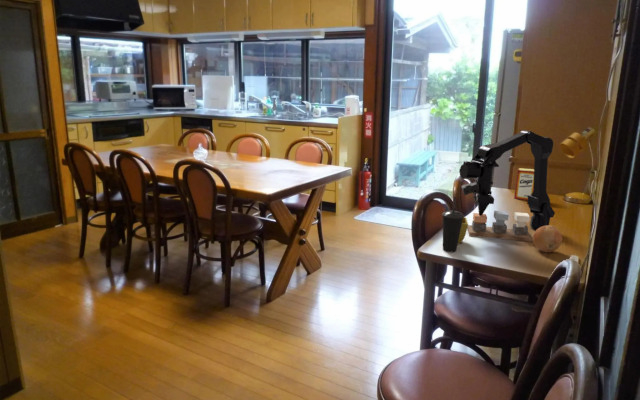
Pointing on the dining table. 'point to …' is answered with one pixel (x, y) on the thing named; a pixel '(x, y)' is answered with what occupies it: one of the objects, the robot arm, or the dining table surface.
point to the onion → (547, 238)
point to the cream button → (521, 219)
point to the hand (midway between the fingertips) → (480, 215)
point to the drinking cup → (451, 228)
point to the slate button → (500, 217)
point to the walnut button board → (499, 232)
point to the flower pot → (463, 230)
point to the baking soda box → (524, 183)
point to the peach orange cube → (479, 218)
